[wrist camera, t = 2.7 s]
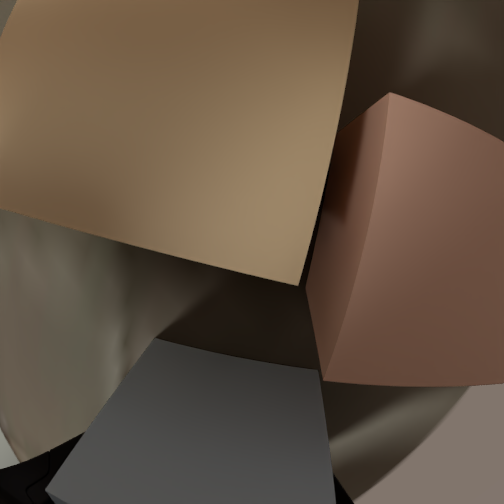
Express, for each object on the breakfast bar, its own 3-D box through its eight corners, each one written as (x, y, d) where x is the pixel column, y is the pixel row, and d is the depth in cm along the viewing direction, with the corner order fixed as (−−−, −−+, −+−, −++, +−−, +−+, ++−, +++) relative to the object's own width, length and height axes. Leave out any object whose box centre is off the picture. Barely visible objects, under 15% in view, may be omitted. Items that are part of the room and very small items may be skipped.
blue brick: (281, 463, 10) (273, 594, 4) (157, 437, 10) (103, 555, 4) (318, 369, 8) (340, 560, 3) (154, 337, 9) (44, 489, 3)
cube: (431, 307, 8) (503, 383, 4) (305, 286, 8) (323, 380, 4) (463, 174, 7) (565, 183, 3) (334, 134, 7) (390, 92, 3)
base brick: (289, 232, 8) (297, 286, 4) (65, 184, 8) (-34, 198, 4) (337, 2, 6) (366, -87, 2) (121, -10, 6) (59, -67, 2)
